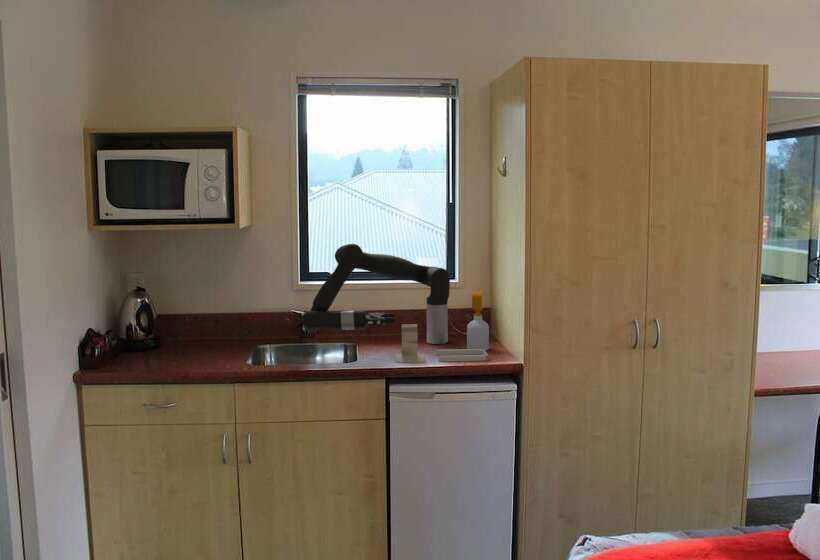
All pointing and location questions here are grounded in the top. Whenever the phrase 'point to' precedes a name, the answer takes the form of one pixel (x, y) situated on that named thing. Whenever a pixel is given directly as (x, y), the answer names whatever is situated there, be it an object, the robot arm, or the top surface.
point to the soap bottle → (477, 326)
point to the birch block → (409, 341)
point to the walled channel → (463, 355)
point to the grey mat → (420, 359)
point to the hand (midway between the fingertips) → (394, 318)
